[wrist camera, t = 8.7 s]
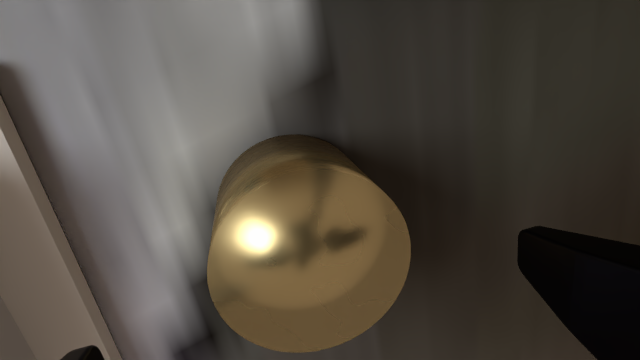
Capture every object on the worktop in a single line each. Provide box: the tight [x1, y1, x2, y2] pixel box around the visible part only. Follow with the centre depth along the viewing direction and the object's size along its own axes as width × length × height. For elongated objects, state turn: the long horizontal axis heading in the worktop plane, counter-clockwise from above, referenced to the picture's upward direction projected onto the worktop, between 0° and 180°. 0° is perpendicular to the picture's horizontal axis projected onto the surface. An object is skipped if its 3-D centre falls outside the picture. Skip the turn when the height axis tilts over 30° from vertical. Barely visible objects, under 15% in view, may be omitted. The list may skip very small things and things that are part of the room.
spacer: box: [207, 135, 411, 353], centre depth 11 cm, size 5×5×4 cm
